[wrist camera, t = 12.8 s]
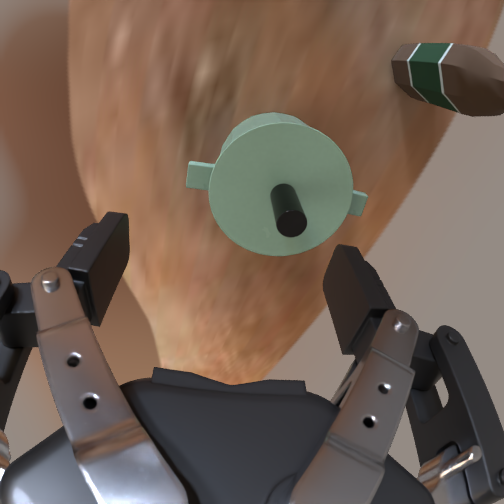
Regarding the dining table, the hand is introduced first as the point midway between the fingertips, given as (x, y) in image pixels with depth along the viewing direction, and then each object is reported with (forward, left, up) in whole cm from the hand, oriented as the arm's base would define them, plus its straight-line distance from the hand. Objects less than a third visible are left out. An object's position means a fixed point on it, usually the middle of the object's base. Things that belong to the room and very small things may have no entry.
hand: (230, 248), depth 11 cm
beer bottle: (-13, +20, -26) cm, 36 cm away
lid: (+4, +5, -17) cm, 18 cm away
